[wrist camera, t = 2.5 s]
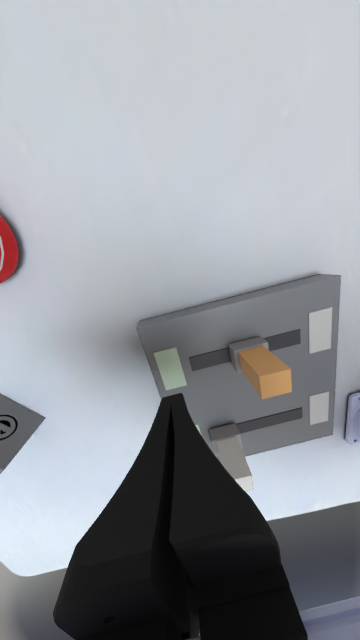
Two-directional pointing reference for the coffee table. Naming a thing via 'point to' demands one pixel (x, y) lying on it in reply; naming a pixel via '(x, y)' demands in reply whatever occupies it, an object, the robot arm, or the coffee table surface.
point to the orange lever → (261, 367)
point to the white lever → (232, 454)
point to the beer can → (7, 251)
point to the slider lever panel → (235, 389)
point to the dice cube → (15, 428)
